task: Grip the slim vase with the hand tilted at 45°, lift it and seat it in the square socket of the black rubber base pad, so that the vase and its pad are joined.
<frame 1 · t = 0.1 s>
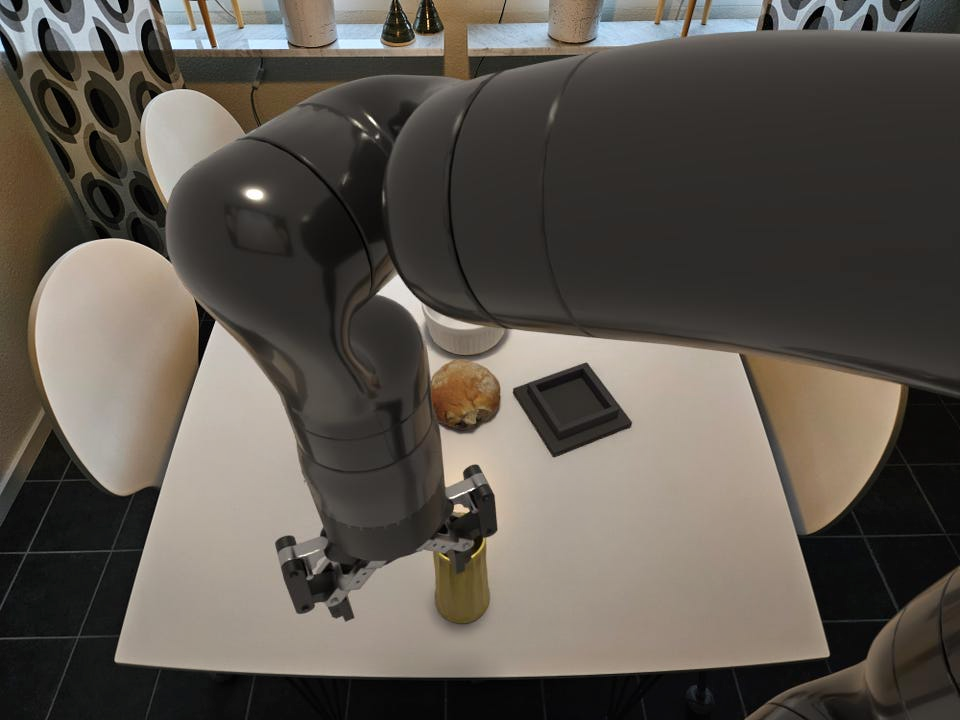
hand: (402, 584, 48), 24 cm above the table, tool pointing down, fingers open, 8 cm apart
ramekin: (467, 331, 100), on the table
base pad: (570, 409, 89), on the table
vase: (462, 597, 72), on the table
condiment: (343, 460, 84), on the table
bread roll: (464, 404, 90), on the table
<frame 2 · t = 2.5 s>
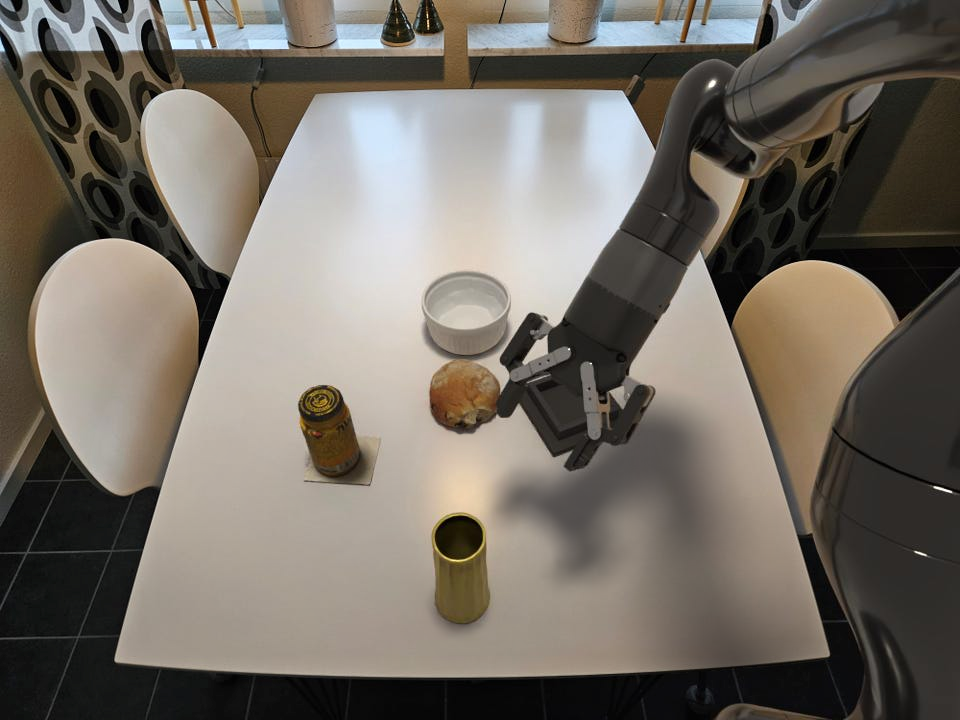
hand: (535, 441, 61), 20 cm above the table, tool tilted 40°, fingers open, 8 cm apart
nothing on the table moved.
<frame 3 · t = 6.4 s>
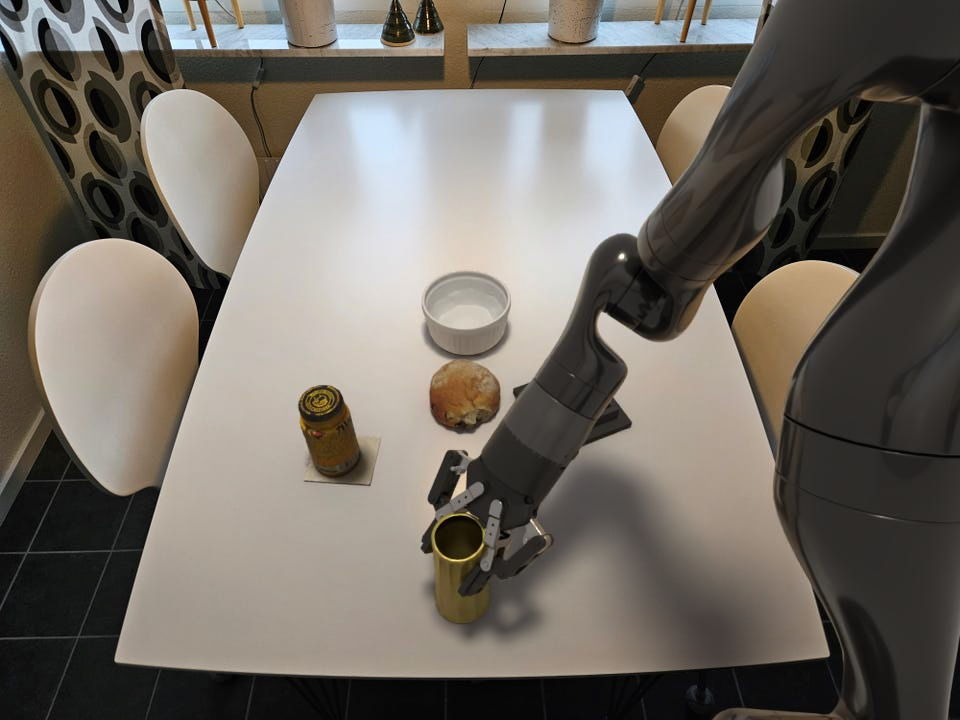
hand: (446, 571, 64), 9 cm above the table, tool tilted 45°, fingers closed on vase, 5 cm apart
vase: (462, 597, 72), on the table, touching gripper
everything else where it was.
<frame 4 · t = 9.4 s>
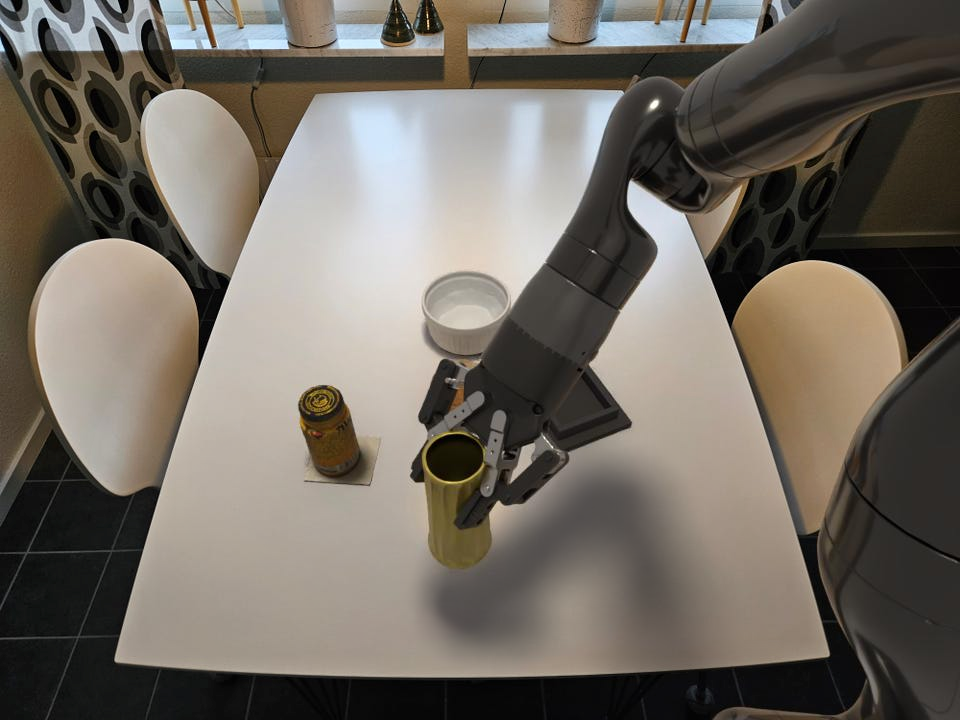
hand: (440, 502, 54), 23 cm above the table, tool tilted 45°, fingers closed on vase, 5 cm apart
vase: (460, 540, 62), point 13 cm above the table, touching gripper
everything else where it was.
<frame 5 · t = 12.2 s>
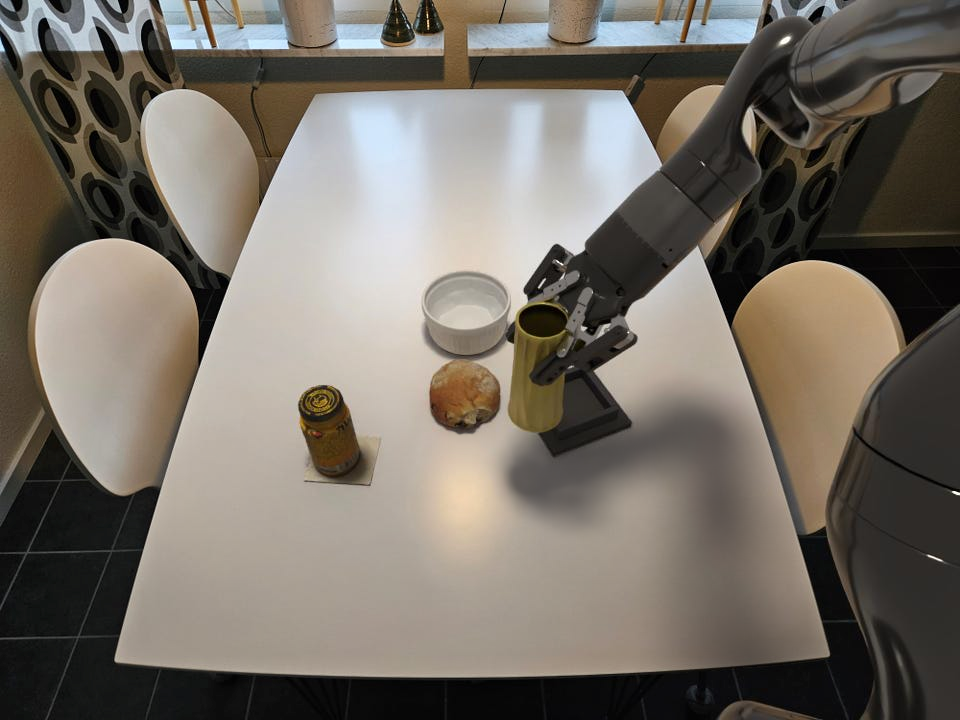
hand: (523, 360, 64), 23 cm above the table, tool tilted 45°, fingers closed on vase, 5 cm apart
vase: (535, 412, 72), point 14 cm above the table, touching gripper
everything else where it was.
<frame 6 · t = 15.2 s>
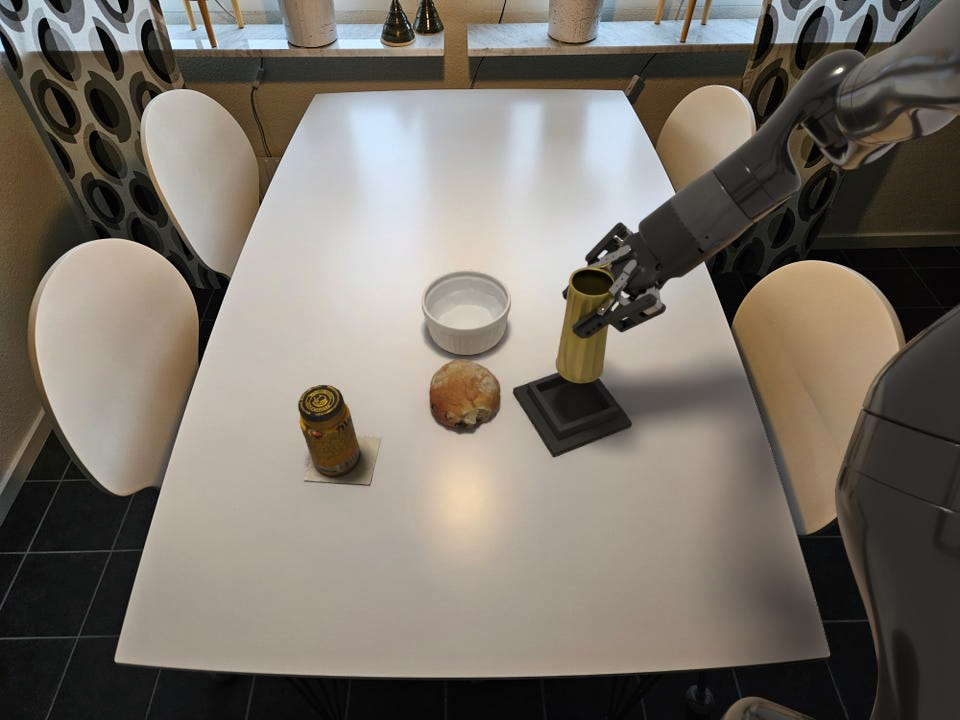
hand: (572, 315, 76), 18 cm above the table, tool tilted 45°, fingers closed on vase, 5 cm apart
vase: (579, 367, 83), point 9 cm above the table, touching gripper
everything else where it was.
when the fingers open (10 cm above the table, at t = 17.9 s): vase stays where it is, resting on base pad.
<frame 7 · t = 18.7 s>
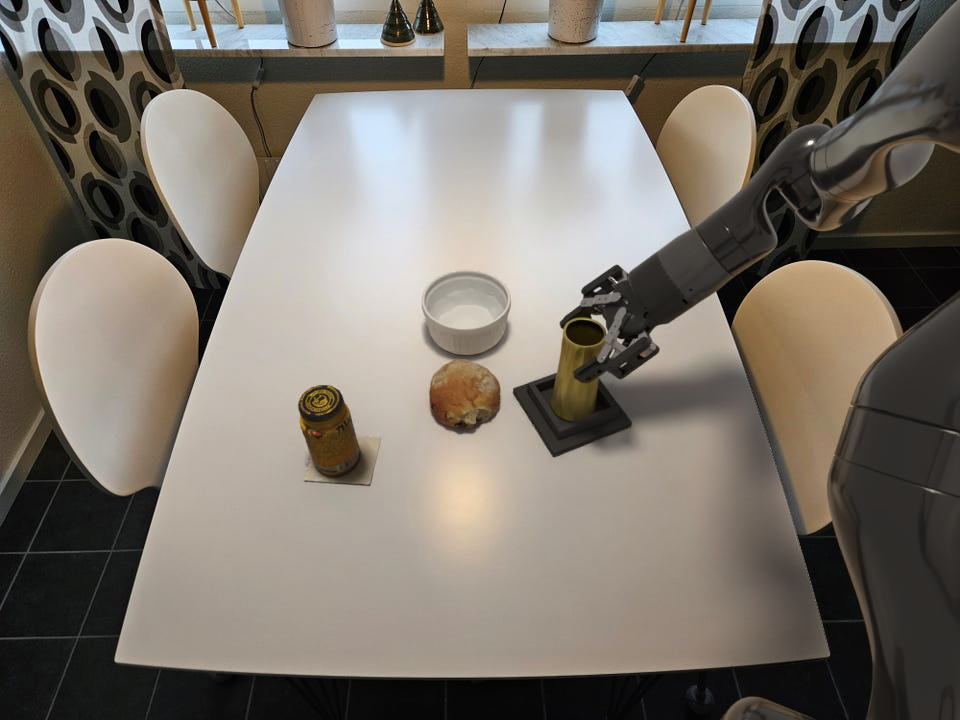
hand: (570, 352, 81), 12 cm above the table, tool tilted 45°, fingers open, 8 cm apart
vase: (572, 405, 89), point 1 cm above the table, touching base pad
everything else where it was.
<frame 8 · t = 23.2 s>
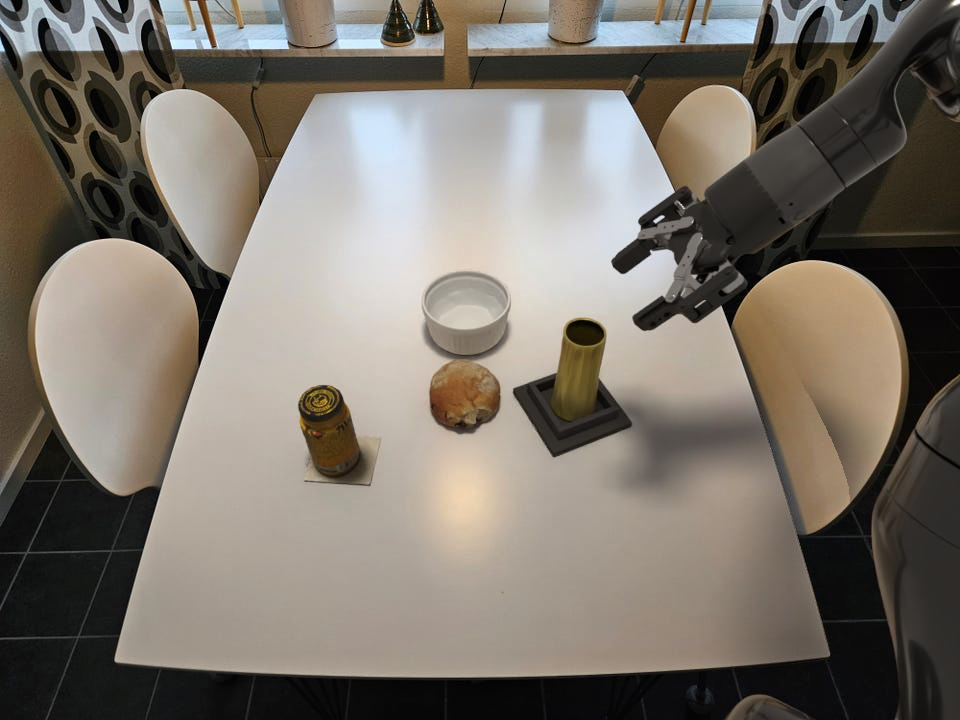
hand: (626, 295, 66), 27 cm above the table, tool tilted 45°, fingers open, 8 cm apart
nothing on the table moved.
at the end: vase 0.2 cm off-centre on the base pad, point 0.8 cm above the base pad's base; vase tilted 0°; the gripper is holding nothing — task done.
